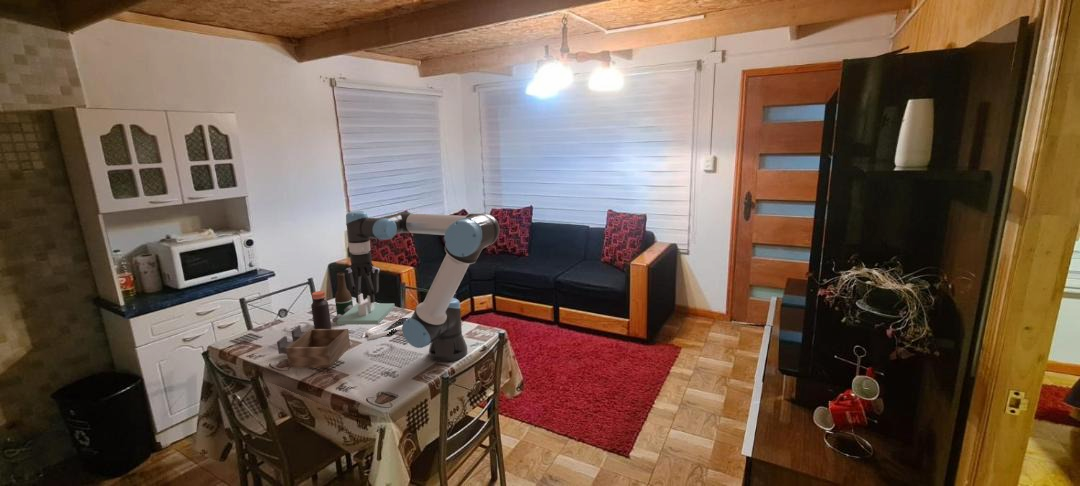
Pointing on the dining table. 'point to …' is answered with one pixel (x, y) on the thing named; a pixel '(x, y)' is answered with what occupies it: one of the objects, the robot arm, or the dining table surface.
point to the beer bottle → (342, 295)
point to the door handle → (377, 335)
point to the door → (364, 314)
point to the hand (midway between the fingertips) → (366, 310)
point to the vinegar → (320, 311)
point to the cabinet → (314, 347)
